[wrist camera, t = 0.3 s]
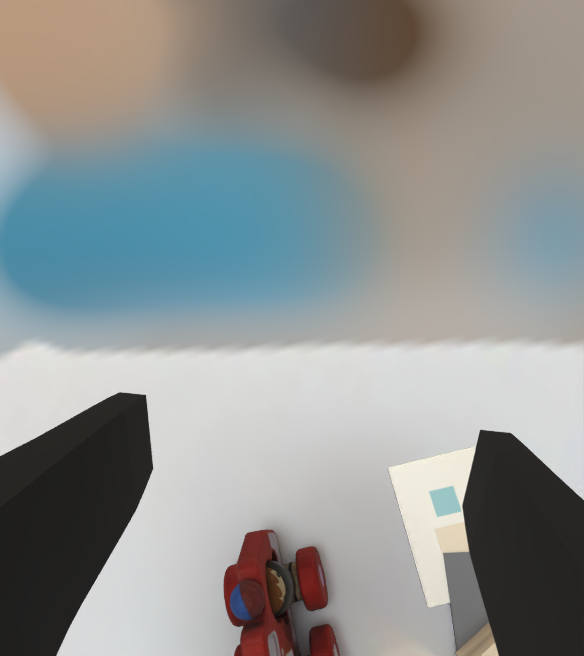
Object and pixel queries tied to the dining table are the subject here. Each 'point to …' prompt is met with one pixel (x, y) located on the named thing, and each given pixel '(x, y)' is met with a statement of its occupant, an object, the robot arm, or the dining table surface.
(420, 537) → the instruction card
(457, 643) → the mat
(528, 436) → the dining table surface
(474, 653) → the base block
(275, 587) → the toy fire truck
